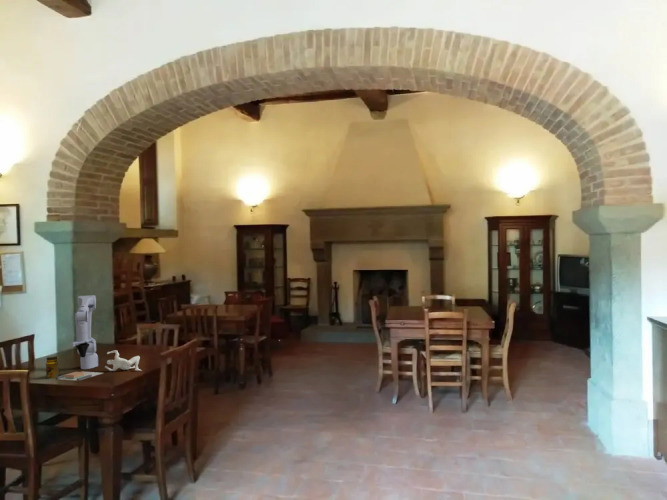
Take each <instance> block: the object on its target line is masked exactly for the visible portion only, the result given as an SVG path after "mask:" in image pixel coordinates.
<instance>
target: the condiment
mask: <svg viewBox="0 0 667 500" xmlns="http://www.w3.org/2000/svg"><path fill="white" fill-rule="evenodd" d="M59 371H60V370H59V361H58V357H57V356H56V355H53V356H47V357H46V363H45V377H46V379H48V380H49V379H51V380H52V379H56V377H58V376H60V375H59V373H60V372H59Z"/></svg>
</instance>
